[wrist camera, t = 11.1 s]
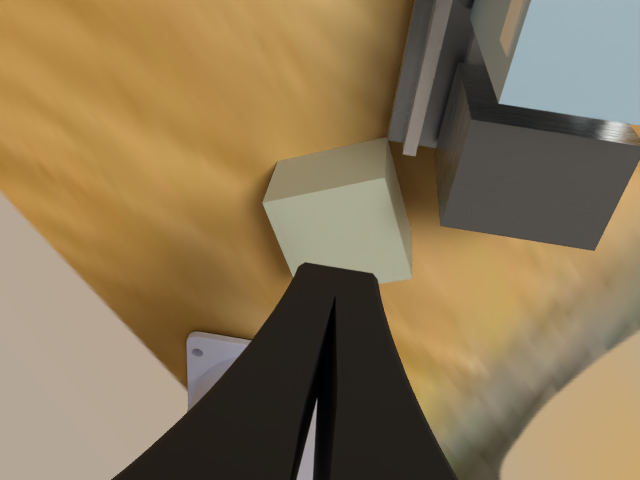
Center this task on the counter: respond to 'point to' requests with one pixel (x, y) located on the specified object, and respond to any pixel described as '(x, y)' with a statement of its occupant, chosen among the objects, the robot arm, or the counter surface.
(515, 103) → the block
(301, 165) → the block
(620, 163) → the rail base
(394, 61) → the counter surface
